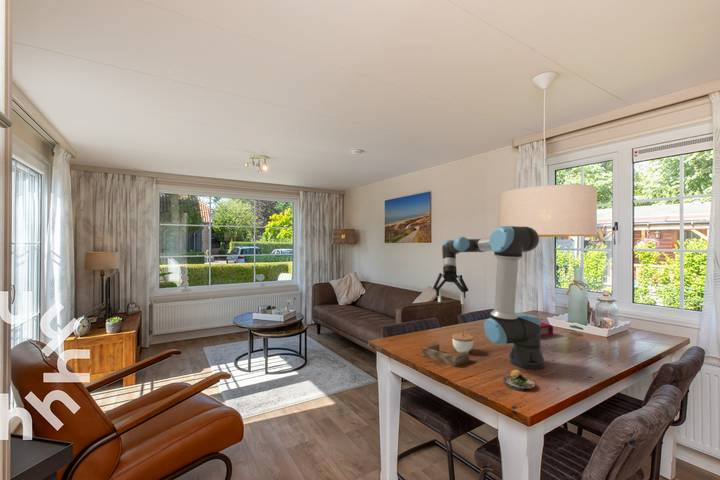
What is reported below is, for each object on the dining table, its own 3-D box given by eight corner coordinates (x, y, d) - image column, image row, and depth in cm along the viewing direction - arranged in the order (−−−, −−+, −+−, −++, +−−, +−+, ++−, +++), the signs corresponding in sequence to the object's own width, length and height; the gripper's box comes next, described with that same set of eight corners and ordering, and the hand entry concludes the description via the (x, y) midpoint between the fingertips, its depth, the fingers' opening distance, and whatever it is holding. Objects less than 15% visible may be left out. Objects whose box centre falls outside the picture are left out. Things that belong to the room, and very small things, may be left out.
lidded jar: (475, 355, 166) (475, 336, 166) (453, 354, 168) (453, 335, 168) (471, 348, 177) (471, 331, 177) (450, 347, 178) (451, 330, 178)
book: (515, 325, 228) (515, 314, 228) (553, 336, 202) (553, 323, 202) (492, 328, 219) (492, 317, 219) (529, 340, 194) (529, 327, 194)
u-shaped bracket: (468, 360, 158) (469, 352, 159) (455, 366, 151) (455, 358, 151) (436, 350, 173) (436, 343, 173) (421, 355, 165) (421, 347, 165)
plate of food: (526, 395, 124) (526, 375, 124) (497, 384, 133) (497, 365, 133) (541, 387, 131) (541, 368, 131) (512, 377, 140) (513, 359, 140)
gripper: (467, 269, 196) (469, 305, 189) (426, 266, 193) (427, 302, 186) (472, 266, 189) (475, 303, 182) (431, 262, 186) (432, 300, 179)
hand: (451, 303), depth 184 cm, fingers open, 13 cm apart
